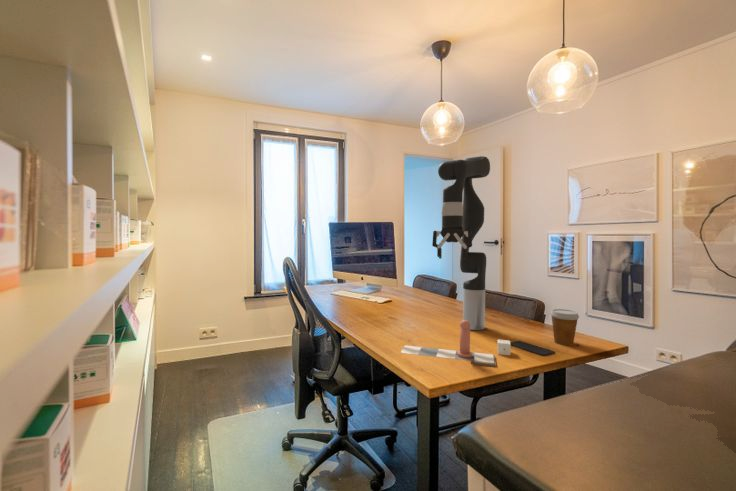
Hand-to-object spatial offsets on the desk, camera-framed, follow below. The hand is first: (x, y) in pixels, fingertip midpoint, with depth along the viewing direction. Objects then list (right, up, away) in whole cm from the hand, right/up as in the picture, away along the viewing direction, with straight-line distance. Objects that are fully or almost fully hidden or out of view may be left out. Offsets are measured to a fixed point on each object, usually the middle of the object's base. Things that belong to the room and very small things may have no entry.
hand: (451, 258), depth 129 cm
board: (-5, -33, -12) cm, 35 cm away
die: (+16, -33, -8) cm, 37 cm away
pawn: (+1, -32, -14) cm, 34 cm away
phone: (+28, -33, -3) cm, 43 cm away
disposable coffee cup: (+44, -32, +3) cm, 54 cm away
